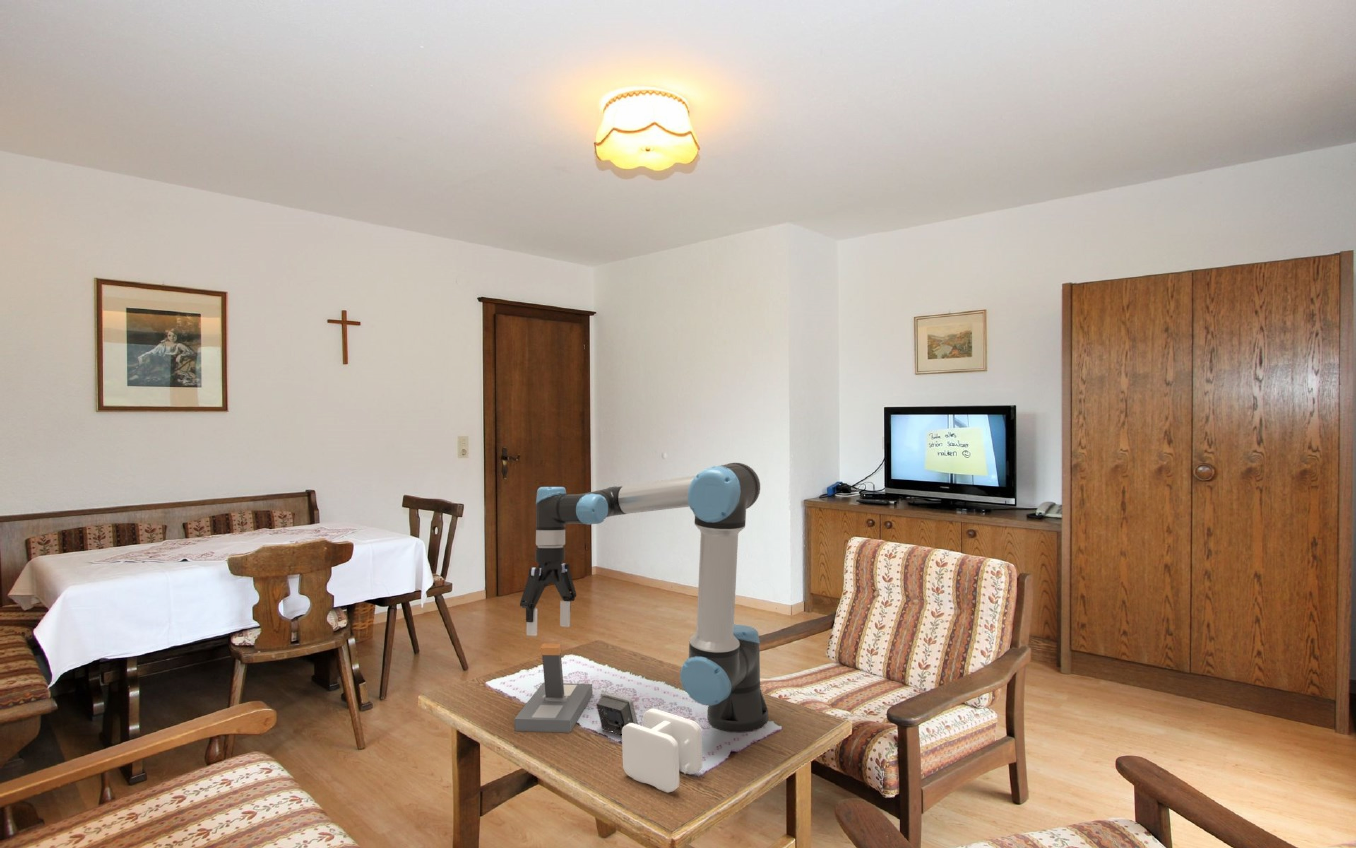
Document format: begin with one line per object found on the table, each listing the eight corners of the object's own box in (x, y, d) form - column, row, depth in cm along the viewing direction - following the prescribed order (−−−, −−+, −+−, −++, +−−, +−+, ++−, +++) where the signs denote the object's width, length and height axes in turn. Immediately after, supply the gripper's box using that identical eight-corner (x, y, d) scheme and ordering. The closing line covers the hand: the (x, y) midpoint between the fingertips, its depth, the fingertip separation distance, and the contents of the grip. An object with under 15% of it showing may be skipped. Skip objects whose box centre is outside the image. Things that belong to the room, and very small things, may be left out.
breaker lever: (562, 698, 180) (558, 648, 178) (544, 698, 181) (540, 647, 178) (565, 693, 183) (561, 643, 180) (547, 693, 183) (543, 643, 181)
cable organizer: (619, 776, 150) (617, 722, 150) (650, 755, 158) (649, 704, 158) (675, 798, 141) (673, 741, 141) (705, 775, 149) (703, 721, 149)
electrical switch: (640, 731, 170) (636, 695, 169) (627, 743, 166) (623, 705, 164) (609, 723, 175) (606, 688, 174) (596, 733, 171) (592, 697, 170)
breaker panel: (570, 732, 170) (569, 716, 170) (514, 731, 172) (514, 714, 172) (592, 694, 192) (592, 680, 192) (543, 693, 194) (542, 679, 194)
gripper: (567, 543, 194) (566, 622, 192) (506, 549, 172) (504, 638, 170) (589, 544, 191) (589, 624, 188) (530, 550, 169) (528, 640, 166)
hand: (548, 631), depth 179 cm, fingers open, 13 cm apart
